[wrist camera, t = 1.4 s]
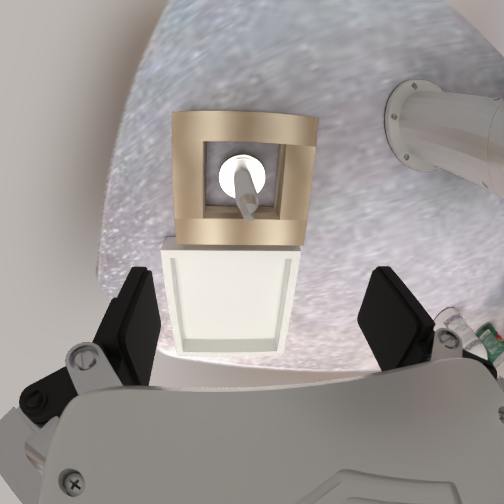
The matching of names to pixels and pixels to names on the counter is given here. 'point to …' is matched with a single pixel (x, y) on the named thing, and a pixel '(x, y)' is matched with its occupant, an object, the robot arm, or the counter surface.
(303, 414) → the robot arm
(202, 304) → the tray
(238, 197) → the screw
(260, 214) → the holder
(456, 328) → the bath foam
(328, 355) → the counter surface
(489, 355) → the canned tomato
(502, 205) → the counter surface
